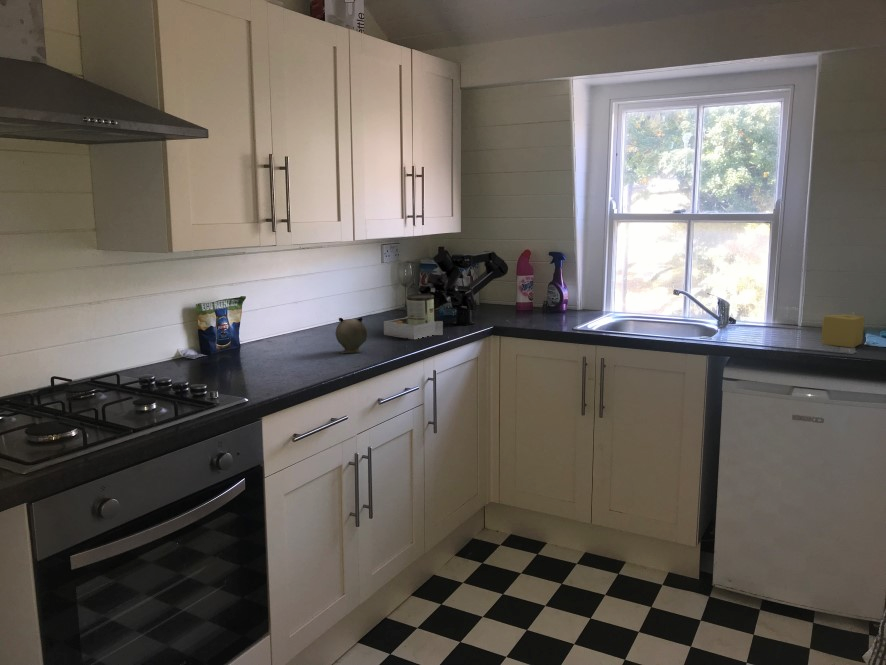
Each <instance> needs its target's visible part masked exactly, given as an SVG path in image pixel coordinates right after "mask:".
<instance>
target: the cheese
mask: <svg viewBox="0 0 886 665" xmlns="http://www.w3.org/2000/svg"><path fill="white" fill-rule="evenodd" d="M864 327H865V316H864V315H856V314H847V313H846V314H826V315H824V316H823V320H822V324H821V341H822V342H821V344H822V345H826V346H836V347H844V348H852V349H853V348H855V347H857V346H859V345H862V344H863V337H864Z"/></svg>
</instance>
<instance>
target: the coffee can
mask: <svg viewBox="0 0 886 665" xmlns="http://www.w3.org/2000/svg"><path fill="white" fill-rule="evenodd" d="M406 308H407V311H406V312H407V317H408V324H409V325H417V324H422V323H428V322H434V321H435V310H434V295H431V294H421V293H412V294H408V295H406Z"/></svg>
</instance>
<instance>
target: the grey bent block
mask: <svg viewBox="0 0 886 665" xmlns="http://www.w3.org/2000/svg"><path fill="white" fill-rule="evenodd" d="M443 326H444V322H443V320H437V321H435V320H434V322H428V323H422V324H417V325H409V324H408V316H405V317H402V318H396V319H390V320H385V321H384V320H383V335H384V336H388V337H389V336H390V337H396V338H401V339H402V338H403V339H407V338H408V339H407V340H413V339H414V340H419V339H422V337H424V338H427V336H429V337H433V336H432V335H434V336H443V334H444V333H443V331H444V329H443V328H444V327H443ZM418 338H419V339H418Z"/></svg>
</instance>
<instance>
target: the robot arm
mask: <svg viewBox="0 0 886 665" xmlns="http://www.w3.org/2000/svg"><path fill="white" fill-rule="evenodd" d="M496 253H497V252H495V251H494V250H493V251H490V250H484V251H481V252H475V253H470V254H465V253H453V254H452V255H451V254H450V252H449V251H448V249H443V250H442V251H441V252H438V253H437V254H435V256H434V257H433V262H434V263H435V264H436V266H437V267H438V269H439V270H440V271H441V272H442V273H441V274H435V273H429V275H428V278H427V281H426V282H427V283H429V284H431V286H432V288H431V287H430V285H420V286H419V288H418V292H419V294H431V295H434V311H435V310H437V309H438V308H440V307H442V306H443V305H446V304H448V303H449V300H450V303H451V307H452V309H454V310H456V311H455V322H453V323H452V324H453V325H459V326H469V325H470V326H471V325H475V324H476V322H474V321H473V311H474V310H476V309H477V303H476V301H475V296H476V295H477V294H478V293H479V292H480V291H482V290H483V289H484V288H485V287H487V285H489V284H490V283H491V282H492V281H493V280H495V279H500V278H503V277H504V276H506V275H507V274H508V271H509V266H508V264H507V263H506V261H505V260H504V259H503V258H502V257H500V256H498V255H497V254H496ZM482 263H484V264H483V266H484V268H485V271H483V272H482V273H481V274H479V276H477V277H476V278H475V279H473V281H471V282H470V283H469V284H467V285H458V286H455V284H456V283H457V281H458V280H459V279H464V274H463V271H461V270H460V269H463V270H467V269H469V268H471V267H472V266H474V264H482Z"/></svg>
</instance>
